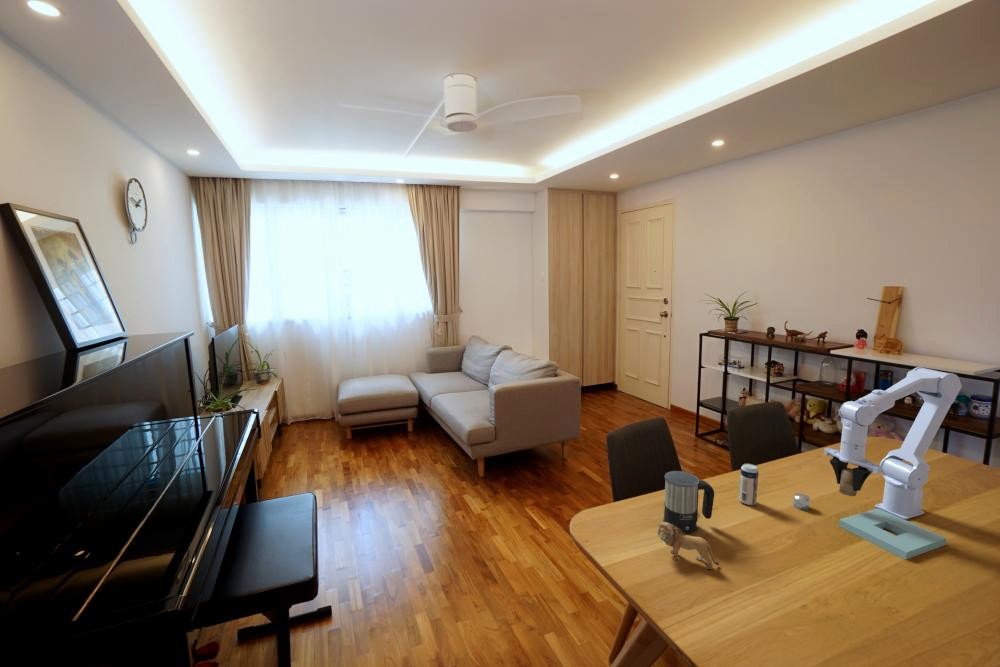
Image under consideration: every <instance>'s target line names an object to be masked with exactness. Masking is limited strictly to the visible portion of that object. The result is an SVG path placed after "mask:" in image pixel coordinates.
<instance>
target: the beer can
mask: <svg viewBox="0 0 1000 667" xmlns="http://www.w3.org/2000/svg"><path fill="white" fill-rule="evenodd" d="M759 472H760V471H759V469H758V467H757V466H756V465H755V464H753V463H752V464H751V463H744V464H742V466H741V467H740V475H739V477H740V478H739V488H738V489H739V490H738V492H739V493H738V501H739V502H740V503H741V504H743V503H744V505H746V504H747V505H746V506H754V505H756V504H757V496H758V495H757V494H758V485H759V484H758V482H759Z"/></svg>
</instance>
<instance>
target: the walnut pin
mask: <svg viewBox="0 0 1000 667" xmlns="http://www.w3.org/2000/svg"><path fill="white" fill-rule="evenodd" d="M852 469H853V468H851V467H847V468H842V470H841V480H840V484H839V491H838V492H839V493H841V494H842V495H845V496H848V497H856V496H857V495H858V494H857V493H858V491H854V490H853V485H854V474H853V470H852Z"/></svg>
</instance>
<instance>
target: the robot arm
mask: <svg viewBox="0 0 1000 667" xmlns="http://www.w3.org/2000/svg"><path fill="white" fill-rule="evenodd" d="M962 387H963V385H962V383H961V380H960V378H959V376H958V375H957V374H955V373H953V372H944V371H938V370H935V369H930V368H925V367H922V366H917V367H915V368H913V369H911V370H909V371H908V372H907V373H906V377H904V378H903V379H901V380H900V381H898V382H896V383H895V384H893V385H892V386H890V387H889V388H887V389H886V390H883V389H874V390H872V391H871V392H870V393H868V394H867V395H865V396H863V397H859V398H858V399H857V400H855V401H853V400H850V401H846V402H845V401H844V402H843V404H842V405H841V406H840V408H839V409H838V416H839V418H841V420H840V422H841V424H842V429H841V430H842V431H841V439H840V447H839V448H840V449H839V450H838V449H834V448H832V447H824V449H823V450H824V451H823V455H825V456H830V457H832V458H831V459H829V463H830V465H831V466H832V469H833V472H834V474H835V479H836V483H837V484H838V485H840V480H841V470H842V468H848V465H849V464H851V465H854V466H857V467H853V468H852V470H853V474H854V485H853V490H854V491H857V492H859V491H862V490H861V489H862V488H863V486H864V485H863V484H865V482H866V480H867V479H868V477H870V476H871V474H874V475H879V474H882V475H883V476H882V478H883V479H884V480H885V481H884V482H885V483H884V488H883V489H884V490H883V495H882V496H883V497H882V502H880V503H877V504H875V505H874V506H875V508H879V509H881V510H883V511H886V512H888V513H890V514H892V515H895V516H897V517H899V518H902V519H904V520H908V519H911V518H914V517H918V516H921V515H924V514H925V511H923V510H922V504H923V495H924V491H923V488H922V487H923V486H925V485H926V484H927V481H928V475H929V472H930V469H931V467H930V465H929V464H928V462H927V461H926V460H925V459H924V457H925V456H926V454H927V451H928V449H929V447H930V446H931V444H932V442H933V440H934V438H935V436H936V434H937V433H938V432H939V429H940V427H941V425H942V423H943V422H944V419H945V418H946V416H947V414H948V412H949V410H950V409H951V406H952V404H954V402H955V400H956V398H957V397H958V395H959V393H960V391H961V389H962ZM914 393H917V394H918V395H919V396H920V397H921V398H922V399H923V401H924V402H923V404H922V406H921V408H920V410H919V412H918V413H917V416H916V417H915V420H914V421H913V423H912V426H911V427H910V429H909V430H908V433H907V435H906V437H905V438H904V440H903V442H902V443H901V446H900V448H896V449H893V450H889V451H888V453H887V455H886V456H885V457H883V458H882V460H880V462H879V464H876V463H874V462H872V461H870V460H868V459H866V458H865V456H866V448H867V447H866V446H867V440H868V431H869V425H871V424H873V422H874V421H875V419H876V418H877V417H879V415H880V414H882V413H883V412H885V411H887V410H889V409H891V408H893V407H894V406H895V402H896V401H897V400H900V399H903V398H904V397H907V396H909V395H912V394H914ZM906 461H907V462H906Z"/></svg>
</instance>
